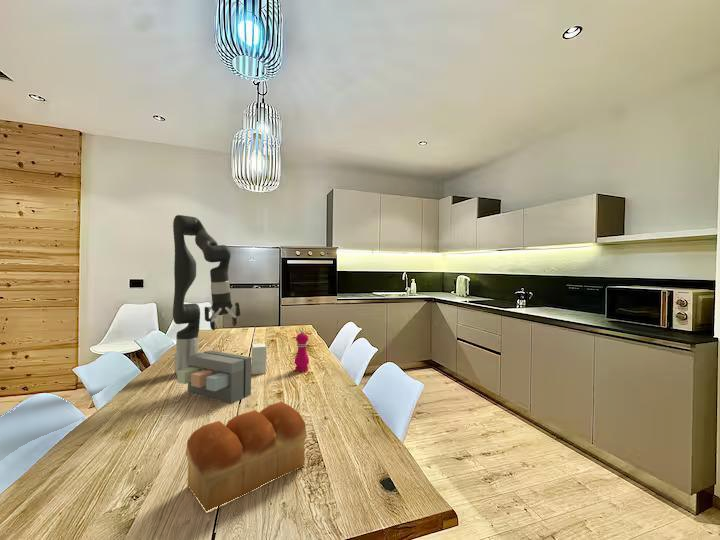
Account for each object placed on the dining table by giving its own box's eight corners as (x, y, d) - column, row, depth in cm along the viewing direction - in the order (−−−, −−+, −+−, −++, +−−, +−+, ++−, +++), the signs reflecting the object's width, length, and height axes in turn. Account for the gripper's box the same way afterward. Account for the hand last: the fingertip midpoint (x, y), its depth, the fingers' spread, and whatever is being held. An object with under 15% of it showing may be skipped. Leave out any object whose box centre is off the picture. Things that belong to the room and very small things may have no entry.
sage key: (177, 382, 126) (177, 370, 126) (195, 376, 133) (195, 365, 133) (184, 384, 124) (184, 372, 124) (202, 377, 131) (203, 367, 131)
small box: (266, 373, 157) (266, 346, 157) (252, 374, 155) (252, 347, 155) (264, 368, 165) (265, 343, 165) (251, 370, 163) (252, 343, 163)
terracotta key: (191, 385, 122) (191, 373, 122) (209, 379, 129) (209, 368, 129) (199, 387, 120) (199, 375, 120) (217, 381, 128) (217, 369, 128)
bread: (204, 517, 66) (205, 444, 66) (185, 487, 75) (186, 423, 75) (306, 466, 84) (307, 408, 84) (280, 447, 93) (281, 395, 93)
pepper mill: (310, 368, 167) (311, 329, 167) (306, 372, 160) (307, 331, 160) (296, 367, 167) (297, 328, 167) (292, 372, 160) (293, 331, 160)
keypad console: (187, 392, 132) (188, 355, 132) (208, 384, 141) (209, 350, 141) (231, 403, 122) (231, 363, 122) (250, 394, 131) (251, 357, 131)
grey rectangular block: (206, 389, 119) (206, 377, 119) (223, 382, 126) (223, 371, 126) (214, 391, 117) (214, 379, 117) (232, 384, 124) (232, 372, 124)
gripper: (235, 288, 148) (238, 322, 150) (201, 292, 140) (204, 329, 142) (240, 290, 142) (243, 326, 144) (204, 295, 134) (208, 333, 136)
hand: (224, 327), depth 143 cm, fingers open, 8 cm apart
